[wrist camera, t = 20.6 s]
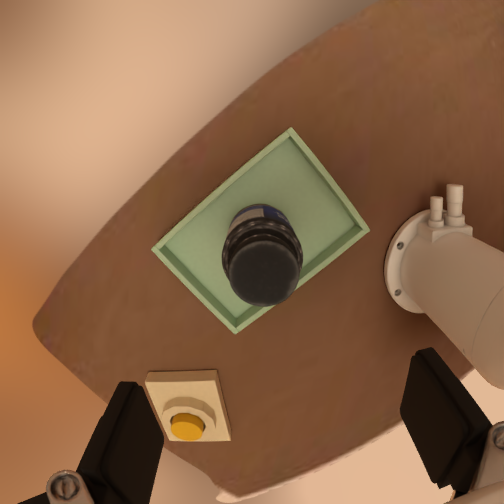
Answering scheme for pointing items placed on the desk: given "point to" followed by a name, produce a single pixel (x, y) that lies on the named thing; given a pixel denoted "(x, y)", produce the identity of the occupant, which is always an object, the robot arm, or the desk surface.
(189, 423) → the button
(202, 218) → the tray
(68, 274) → the desk surface
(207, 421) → the box
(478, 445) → the robot arm
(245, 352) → the desk surface
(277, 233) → the pill bottle
